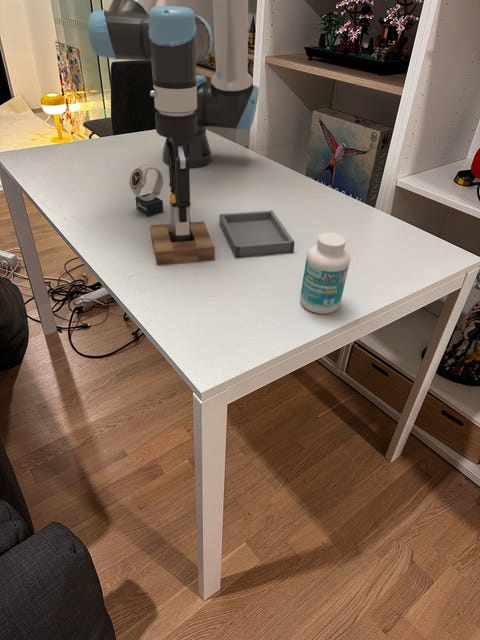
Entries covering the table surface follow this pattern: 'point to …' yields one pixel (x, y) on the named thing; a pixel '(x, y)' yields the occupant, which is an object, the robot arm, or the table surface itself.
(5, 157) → the table surface
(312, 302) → the pill bottle
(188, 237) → the pin
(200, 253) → the socket block
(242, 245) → the tray
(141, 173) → the watch
